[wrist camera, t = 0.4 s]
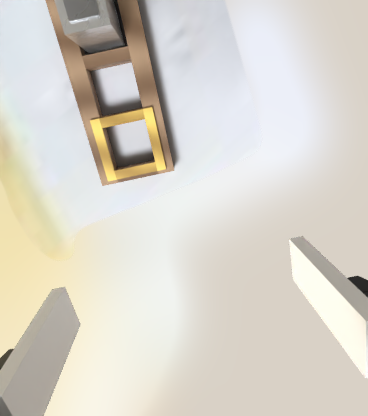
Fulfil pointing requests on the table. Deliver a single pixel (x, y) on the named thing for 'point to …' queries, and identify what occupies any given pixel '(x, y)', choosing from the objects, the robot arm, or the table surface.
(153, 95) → the board
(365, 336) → the robot arm
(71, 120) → the table surface
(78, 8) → the block
